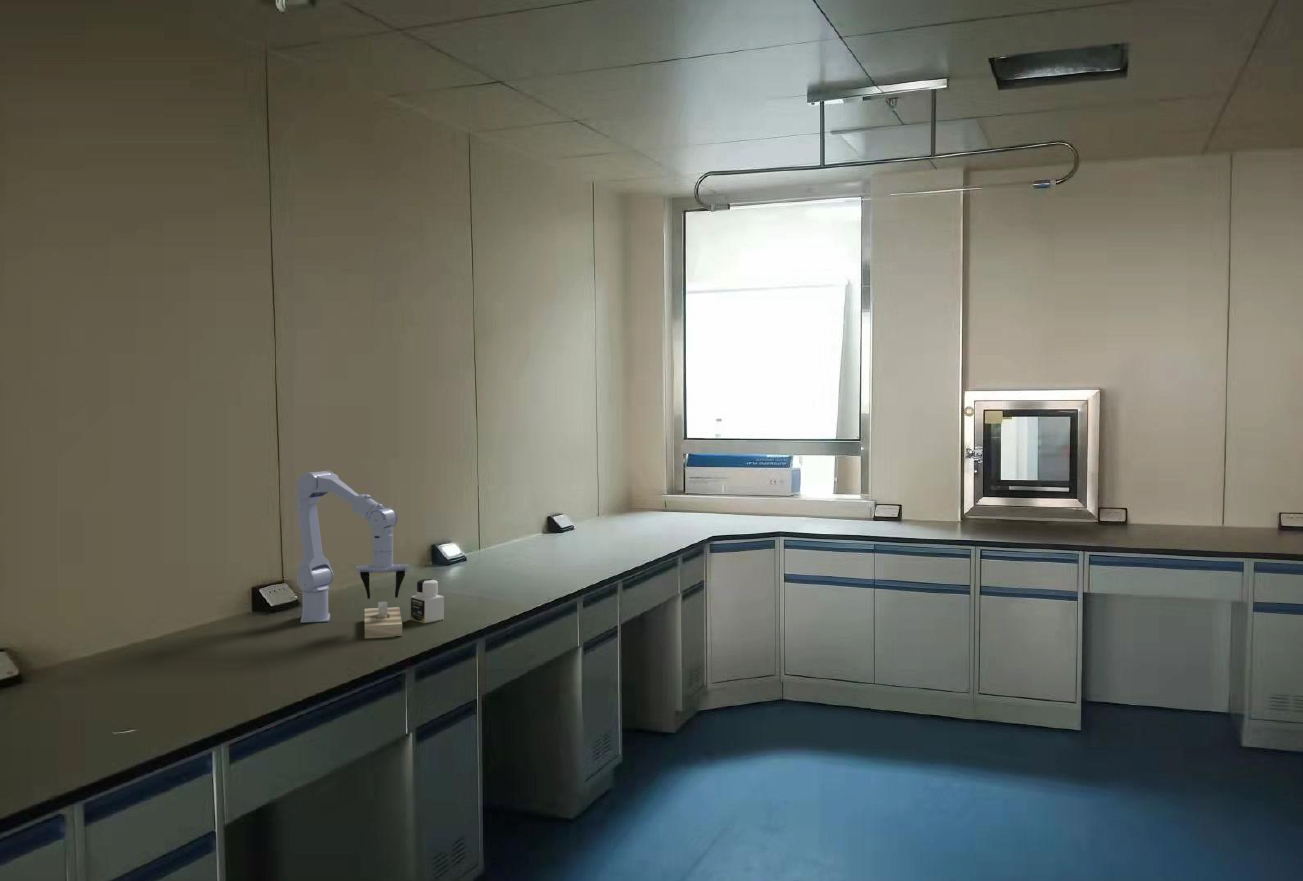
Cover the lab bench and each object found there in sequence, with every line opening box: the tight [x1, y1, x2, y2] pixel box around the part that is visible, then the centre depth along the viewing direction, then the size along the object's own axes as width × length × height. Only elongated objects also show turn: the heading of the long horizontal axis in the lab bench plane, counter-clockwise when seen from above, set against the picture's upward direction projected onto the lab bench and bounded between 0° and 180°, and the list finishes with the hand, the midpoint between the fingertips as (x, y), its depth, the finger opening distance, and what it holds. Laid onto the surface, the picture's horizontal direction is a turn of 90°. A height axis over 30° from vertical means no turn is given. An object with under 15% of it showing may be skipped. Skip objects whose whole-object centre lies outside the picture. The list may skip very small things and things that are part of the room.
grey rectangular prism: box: [377, 601, 388, 618], centre depth 288 cm, size 7×2×7 cm, turn 16°
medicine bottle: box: [410, 578, 445, 624], centre depth 299 cm, size 7×7×12 cm
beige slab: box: [364, 606, 403, 639], centre depth 288 cm, size 22×10×4 cm, turn 16°
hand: (382, 597), depth 288 cm, fingers open, 7 cm apart
